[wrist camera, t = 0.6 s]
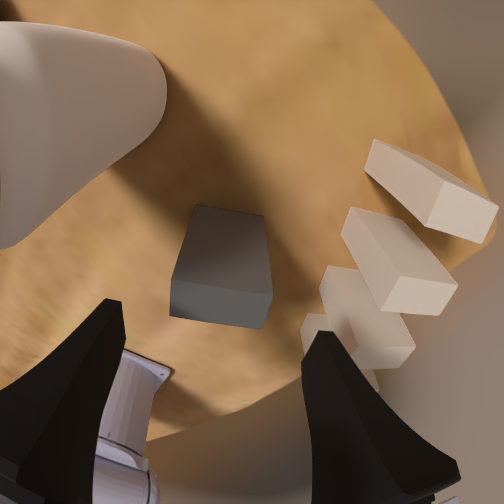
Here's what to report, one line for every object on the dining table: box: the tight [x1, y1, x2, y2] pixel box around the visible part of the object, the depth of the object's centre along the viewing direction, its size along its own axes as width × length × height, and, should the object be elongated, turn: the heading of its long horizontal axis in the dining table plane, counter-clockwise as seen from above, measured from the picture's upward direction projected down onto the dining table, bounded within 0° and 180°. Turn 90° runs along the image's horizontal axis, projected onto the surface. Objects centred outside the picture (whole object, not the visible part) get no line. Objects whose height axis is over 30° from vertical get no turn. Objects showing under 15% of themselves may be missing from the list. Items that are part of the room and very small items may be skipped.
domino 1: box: [169, 205, 274, 329], centre depth 15 cm, size 2×4×7 cm, turn 78°
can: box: [0, 22, 167, 250], centre depth 8 cm, size 6×6×12 cm
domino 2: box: [364, 139, 499, 244], centre depth 13 cm, size 2×4×7 cm, turn 78°
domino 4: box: [318, 265, 416, 369], centre depth 17 cm, size 2×4×7 cm, turn 78°
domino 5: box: [300, 313, 380, 392], centre depth 20 cm, size 2×4×7 cm, turn 78°
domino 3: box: [340, 206, 458, 315], centre depth 15 cm, size 2×4×7 cm, turn 78°
